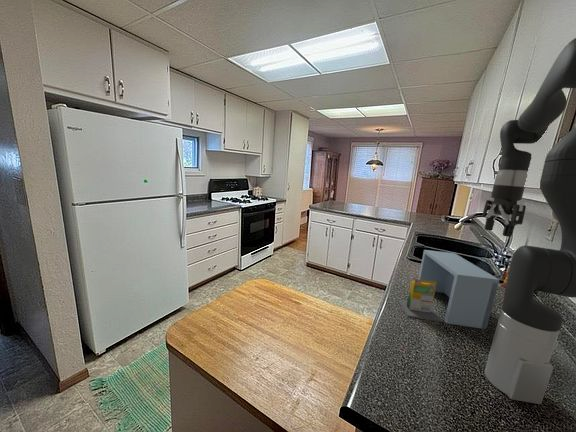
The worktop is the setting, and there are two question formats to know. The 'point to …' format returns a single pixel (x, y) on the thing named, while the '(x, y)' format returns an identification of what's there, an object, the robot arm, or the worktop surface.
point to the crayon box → (421, 295)
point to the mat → (419, 313)
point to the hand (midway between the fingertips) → (496, 232)
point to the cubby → (461, 287)
